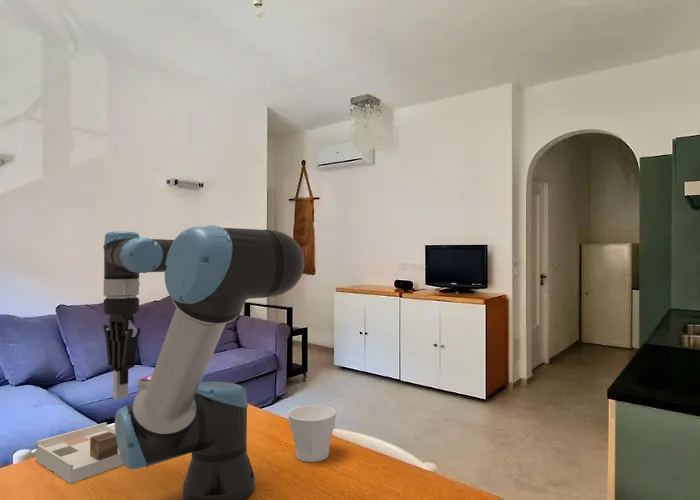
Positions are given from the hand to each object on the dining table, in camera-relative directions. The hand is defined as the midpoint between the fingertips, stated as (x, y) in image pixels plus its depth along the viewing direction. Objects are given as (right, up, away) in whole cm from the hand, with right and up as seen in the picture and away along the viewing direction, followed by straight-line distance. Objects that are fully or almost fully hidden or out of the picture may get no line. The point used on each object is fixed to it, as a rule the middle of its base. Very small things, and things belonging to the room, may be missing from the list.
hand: (120, 397), depth 107 cm
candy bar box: (-4, -20, +30) cm, 36 cm away
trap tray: (-12, -19, +9) cm, 24 cm away
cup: (+44, -19, +11) cm, 49 cm away
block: (-6, -16, +4) cm, 17 cm away
